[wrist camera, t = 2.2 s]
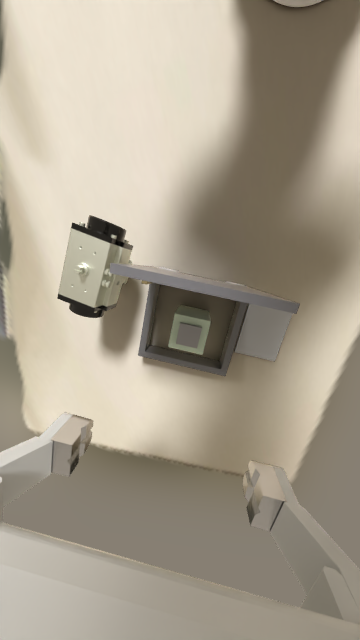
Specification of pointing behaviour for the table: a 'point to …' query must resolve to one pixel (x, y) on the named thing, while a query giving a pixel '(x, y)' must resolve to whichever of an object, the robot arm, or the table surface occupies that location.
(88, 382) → the table surface
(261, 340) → the pad
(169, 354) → the case
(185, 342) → the block
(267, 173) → the table surface
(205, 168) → the table surface
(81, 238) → the pneumatic valve
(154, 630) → the robot arm
